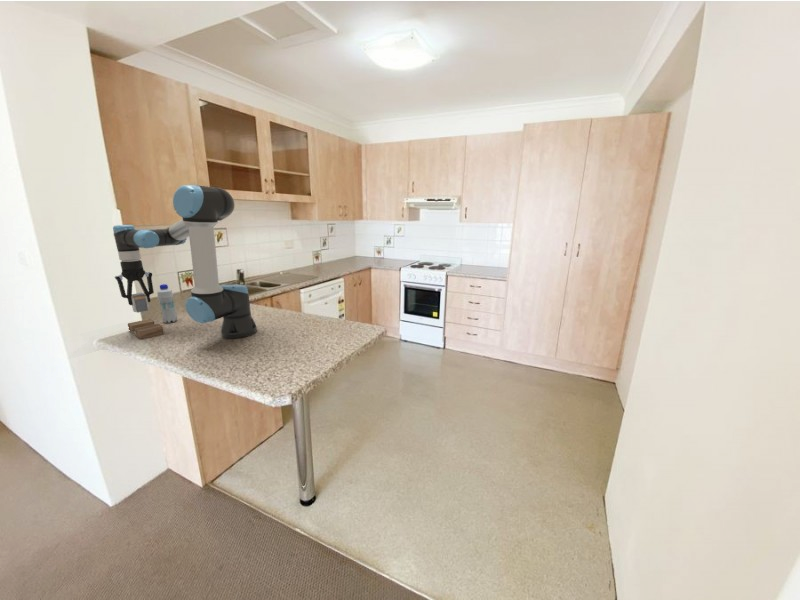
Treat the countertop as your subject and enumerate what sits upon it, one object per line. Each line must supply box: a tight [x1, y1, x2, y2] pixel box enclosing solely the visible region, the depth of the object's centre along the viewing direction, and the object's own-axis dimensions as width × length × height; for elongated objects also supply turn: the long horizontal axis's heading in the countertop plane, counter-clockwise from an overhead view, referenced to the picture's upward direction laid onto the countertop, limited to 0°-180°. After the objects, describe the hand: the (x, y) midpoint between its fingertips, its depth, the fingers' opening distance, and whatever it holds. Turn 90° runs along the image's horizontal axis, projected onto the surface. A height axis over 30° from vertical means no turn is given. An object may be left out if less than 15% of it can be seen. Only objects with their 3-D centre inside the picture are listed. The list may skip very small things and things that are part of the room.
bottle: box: [157, 283, 178, 324], centre depth 168 cm, size 7×7×20 cm
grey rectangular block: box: [132, 292, 149, 313], centre depth 151 cm, size 4×4×8 cm
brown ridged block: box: [127, 318, 165, 340], centre depth 154 cm, size 18×9×4 cm, turn 52°
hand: (141, 310), depth 151 cm, fingers closed on grey rectangular block, 4 cm apart
